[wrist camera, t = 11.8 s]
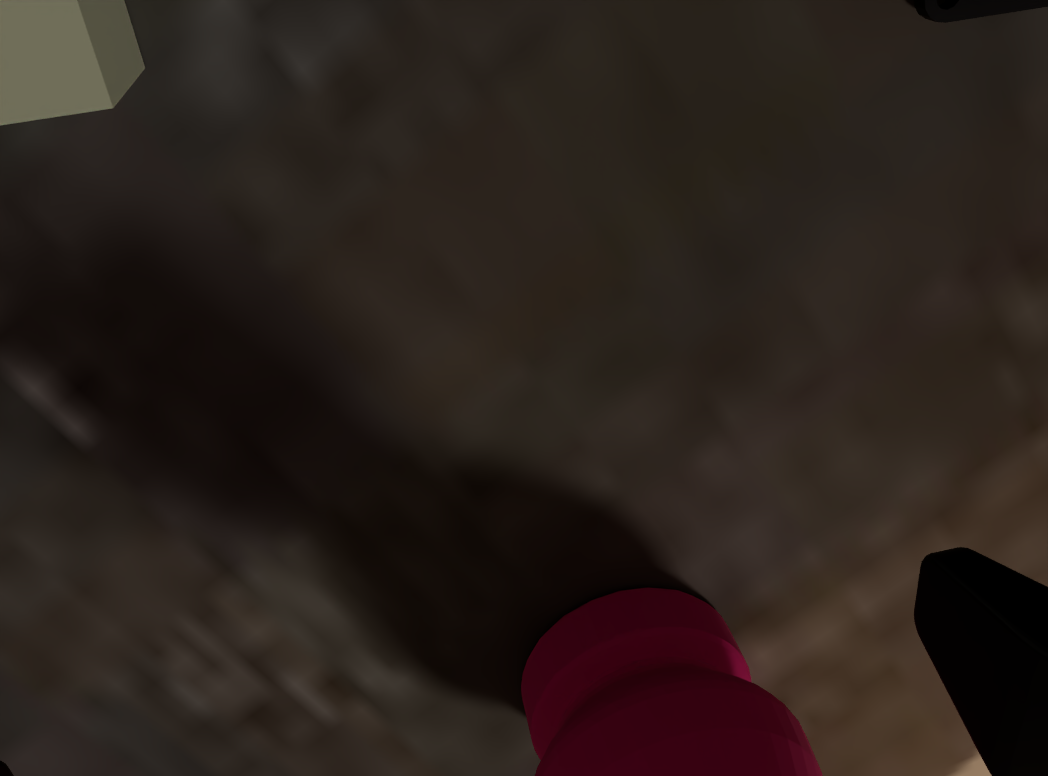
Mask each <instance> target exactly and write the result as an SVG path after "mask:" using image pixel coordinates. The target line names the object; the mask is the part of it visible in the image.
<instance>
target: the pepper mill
mask: <svg viewBox="0 0 1048 776" xmlns="http://www.w3.org/2000/svg"><path fill="white" fill-rule="evenodd" d="M521 694H522V699H523V704H524V708H525V713H526V717H527V721H528V726H529V730H530V734H531V739H532V743H533V746H534V749H535V751H536V753H537V755H538V757H539V758H540V760H541V762H540V764H539V765H538V767H537V770H536V774H535V776H822V772H821V770H820V767H819V765H818V763H817V760H816V758H815V756H814V753H813V751H812V749H811V746H810V744H809V742H808V739H807V737H806V735H805V733H804V731H803V729H802V727H801V725H800V723H799V721H798V720H797V719H796V718H795V716H794V715H793V714H792V713H791V712H790V710H789V709H788V708H787V707H786V706H785V704H783V703H782V702H781V701H779V700H778V699H777V698H776V697H774V696H773V695H772V694H770V693H769V692H767V691H766V690H764V689H763V688H761V687H759V686H758V685H756V684H754V683H751V676H750V672H749V667H748V665H747V663H746V661H745V659H744V657H743V655H742V653H741V651H740V649H739V647H738V645H737V643H736V642H735V640H734V638H733V636H732V634H731V632H730V630H729V628H728V626H727V624H726V623H725V621H724V620H723V618H722V616H721V615H720V614H719V613H718V612H717V611H716V610H715V609H714V608H713V607H711V606H710V605H709V604H708V603H706V602H704V601H702V600H700V599H698V598H696V597H694V596H692V595H689V594H687V593H684V592H681V591H678V590H672V589H661V588H651V587H647V588H639V589H630V590H622V591H617V592H614V593H611V594H608V595H605V596H603V597H600V598H597V599H594V600H591V601H589V602H587V603H586V604H584V605H582V606H580V607H579V608H577V609H575V610H573V611H572V612H570V613H568V614H566V615H564V616H563V617H562V618H561V619H560V620H559V621H558V622H557V623H556V624H554V625H553V626H552V627H551V628H550V629H549V630H548V631H547V632H546V633H545V634H544V635H543V636H542V637H541V638H540V639H539V641H538V643H537V644H536V646H535V647H534V649H533V651H532V652H531V654H530V656H529V658H528V660H527V662H526V665H525V668H524V671H523V675H522V683H521Z"/></svg>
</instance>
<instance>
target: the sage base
mask: <svg viewBox="0 0 1048 776" xmlns="http://www.w3.org/2000/svg"><path fill="white" fill-rule="evenodd" d="M144 69H145V66H144V63H143V60H142V56H141V53H140V50H139V47H138V43H137V40H136V37H135V34H134V31H133V27H132V24H131V21H130V18H129V14H128V11H127V8H126V5H125V1H124V0H0V125H6V124H12V123H19V122H25V121H32V120H38V119H45V118H51V117H58V116H65V115H71V114H78V113H84V112H91V111H97V110H104V109H111V108H114V106H115V105H116V104H117V103H118V101H119V100H120V99H121V98H122V96H123V95H124V94H125V93H126V91H127V90H128V89H129V88H130V86H131V85H132V84H133V83H134V81H135V80H136V79H137V78H138V76H139V75H140V74H141V73H142V72H143V70H144Z"/></svg>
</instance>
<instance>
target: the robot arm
mask: <svg viewBox="0 0 1048 776" xmlns="http://www.w3.org/2000/svg"><path fill="white" fill-rule="evenodd" d="M914 5H915V8H916V10H917V12H918V14H919V15H921V16H922V17H924V18H925V19H928V20H932V21H935V22H945V23H946V22H952V21H958V20H965V19H971V18H978V17H984V16H990V15H997V14H1003V13H1009V12H1016V11H1022V10H1028V9H1035V8H1041V7H1048V0H945V1H944V2H943V3H942V4H941V5H937V0H914ZM914 620H915V625H916V629H917V632H918V635H919V637H920V639H921V641H922V643H923V645H924V647H925V649H926V651H927V653H928V655H929V656H930V658H931V660H932V662H933V664H934V666H935V668H936V670H937V672H938V674H939V676H940V678H941V680H942V682H943V684H944V686H945V688H946V690H947V692H948V693H949V695H950V697H951V699H952V701H953V703H954V705H955V707H956V709H957V711H958V713H959V715H960V717H961V719H962V721H963V723H964V725H965V727H966V729H967V730H968V732H969V734H970V736H971V738H972V740H973V742H974V744H975V746H976V748H977V750H978V752H979V754H980V755H981V757H982V759H983V761H984V763H985V764H986V766H987V768H988V770H989V772H990V773H991V775H992V776H1048V587H1047V586H1045V585H1043V584H1041V583H1038V582H1036V581H1034V580H1032V579H1030V578H1028V577H1026V576H1024V575H1022V574H1020V573H1018V572H1016V571H1014V570H1012V569H1010V568H1008V567H1006V566H1004V565H1002V564H1000V563H998V562H996V561H994V560H992V559H990V558H988V557H986V556H984V555H982V554H980V553H978V552H976V551H973V550H971V549H968V548H964V547H958V548H953V549H949V550H944V551H940V552H935V553H930V554H928V555H927V556H926V557H925V558H924V559H923V561H922V563H921V567H920V574H919V581H918V588H917V594H916V601H915V608H914ZM0 776H13V774H12V772H11V771H10V769H9V768H8V766H7V765H6V764H5V763H4V762H2V761H0Z"/></svg>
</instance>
